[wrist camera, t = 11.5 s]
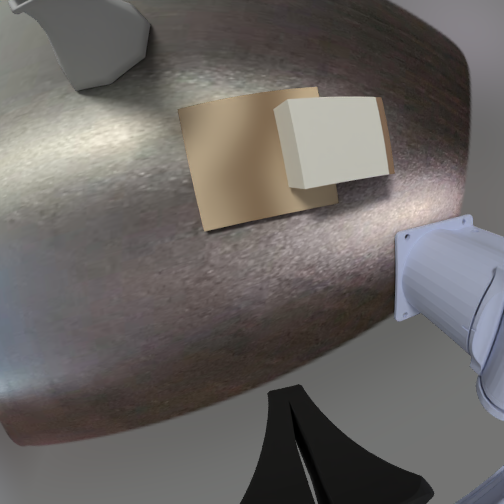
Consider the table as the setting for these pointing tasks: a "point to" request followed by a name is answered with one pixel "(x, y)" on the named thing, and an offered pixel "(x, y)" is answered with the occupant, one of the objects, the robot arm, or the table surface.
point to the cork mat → (244, 160)
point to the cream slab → (333, 140)
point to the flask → (90, 37)
